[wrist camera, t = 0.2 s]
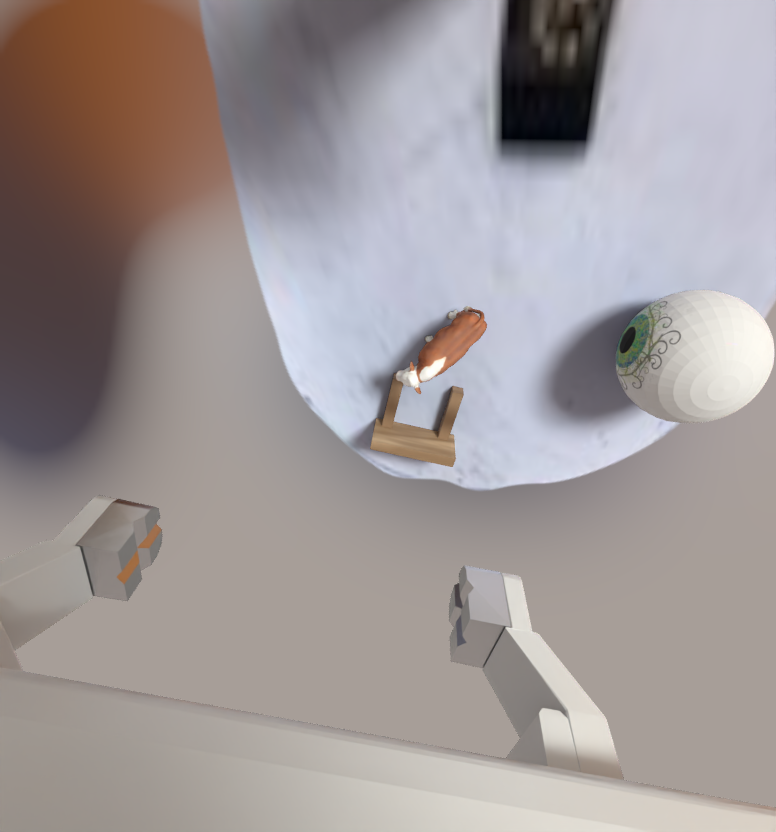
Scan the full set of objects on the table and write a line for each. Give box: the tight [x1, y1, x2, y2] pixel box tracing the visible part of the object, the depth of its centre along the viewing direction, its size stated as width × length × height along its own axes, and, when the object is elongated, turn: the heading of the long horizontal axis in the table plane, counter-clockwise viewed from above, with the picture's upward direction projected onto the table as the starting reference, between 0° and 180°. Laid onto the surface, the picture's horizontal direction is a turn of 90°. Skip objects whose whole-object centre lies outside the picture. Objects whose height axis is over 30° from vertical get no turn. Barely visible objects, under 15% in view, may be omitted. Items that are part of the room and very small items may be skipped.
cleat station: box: [370, 373, 464, 467], centre depth 65 cm, size 10×12×6 cm
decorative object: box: [616, 290, 774, 423], centre depth 52 cm, size 15×15×15 cm
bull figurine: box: [396, 306, 487, 394], centre depth 58 cm, size 4×13×8 cm, turn 133°
